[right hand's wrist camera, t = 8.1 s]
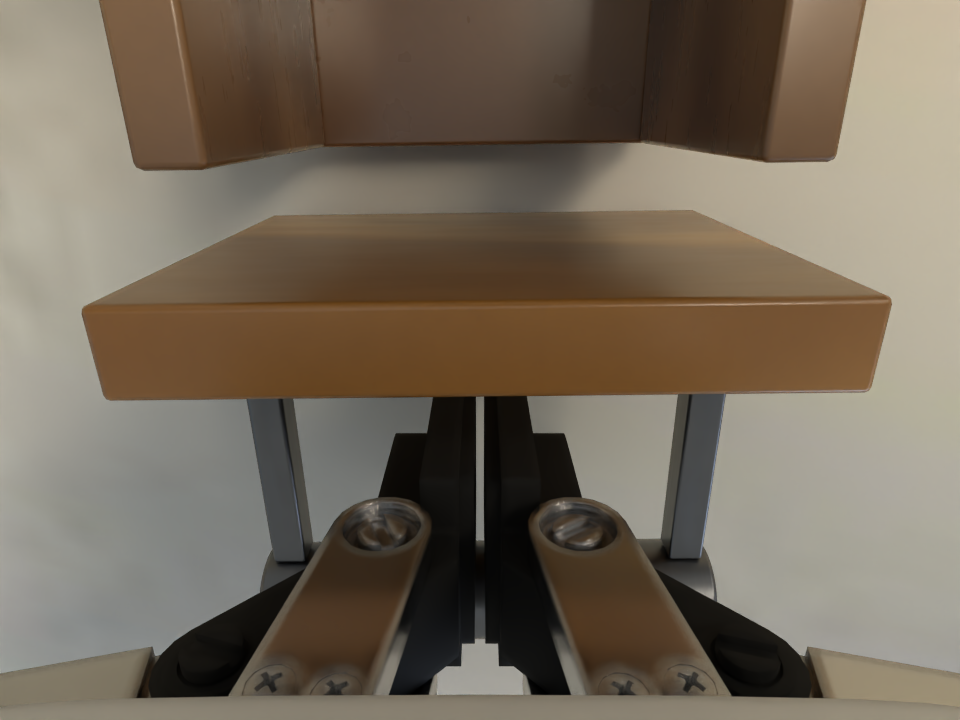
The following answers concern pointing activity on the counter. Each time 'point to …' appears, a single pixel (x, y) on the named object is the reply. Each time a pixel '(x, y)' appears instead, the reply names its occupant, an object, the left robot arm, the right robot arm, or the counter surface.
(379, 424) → the counter surface
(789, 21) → the drawer
